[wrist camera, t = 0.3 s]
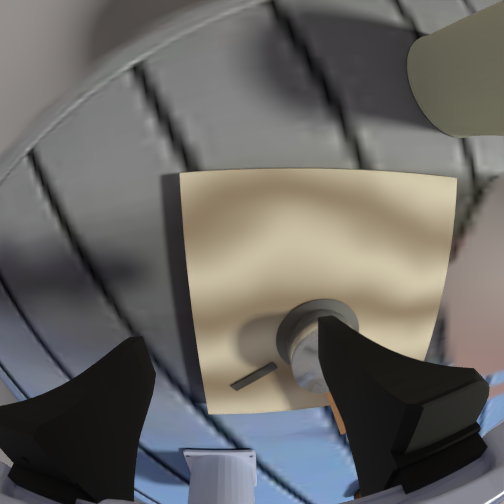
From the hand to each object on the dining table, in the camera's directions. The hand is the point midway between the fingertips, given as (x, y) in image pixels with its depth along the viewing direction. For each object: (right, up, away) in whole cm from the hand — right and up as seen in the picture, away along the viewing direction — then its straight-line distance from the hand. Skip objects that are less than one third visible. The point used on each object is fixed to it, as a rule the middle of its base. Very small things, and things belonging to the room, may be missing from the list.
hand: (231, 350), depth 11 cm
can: (+17, +18, +6) cm, 25 cm away
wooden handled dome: (+7, -5, +10) cm, 13 cm away
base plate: (+7, 0, +11) cm, 12 cm away
